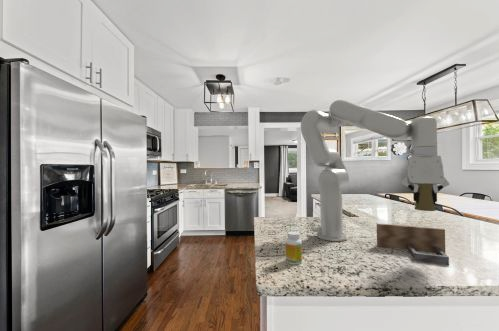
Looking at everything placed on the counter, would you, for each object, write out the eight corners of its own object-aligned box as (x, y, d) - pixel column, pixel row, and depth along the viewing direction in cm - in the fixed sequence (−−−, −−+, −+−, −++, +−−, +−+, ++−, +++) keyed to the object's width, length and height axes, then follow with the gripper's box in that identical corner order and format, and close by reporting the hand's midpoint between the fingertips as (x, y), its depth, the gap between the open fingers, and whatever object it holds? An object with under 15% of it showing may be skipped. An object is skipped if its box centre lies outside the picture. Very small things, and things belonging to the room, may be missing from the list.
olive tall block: (439, 211, 81) (438, 179, 81) (419, 210, 82) (418, 179, 82) (429, 208, 87) (429, 178, 87) (411, 208, 88) (410, 178, 88)
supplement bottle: (298, 266, 76) (298, 236, 76) (283, 262, 79) (282, 233, 79) (304, 260, 81) (303, 232, 81) (289, 257, 84) (289, 230, 84)
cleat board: (379, 256, 85) (379, 230, 85) (376, 245, 97) (376, 223, 97) (457, 266, 76) (457, 237, 76) (444, 253, 88) (443, 228, 88)
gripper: (398, 152, 85) (399, 203, 85) (457, 150, 78) (459, 206, 78) (395, 153, 92) (396, 201, 91) (449, 152, 85) (450, 203, 85)
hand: (425, 203), depth 85 cm, fingers closed on olive tall block, 3 cm apart
